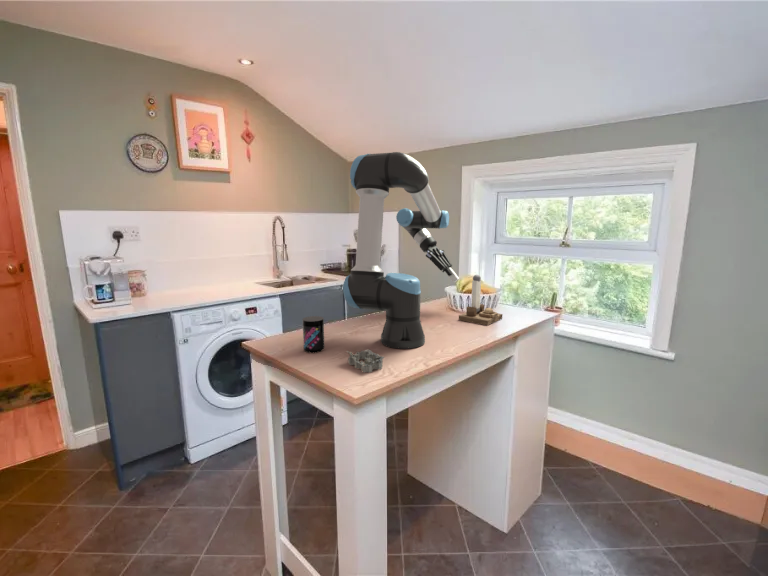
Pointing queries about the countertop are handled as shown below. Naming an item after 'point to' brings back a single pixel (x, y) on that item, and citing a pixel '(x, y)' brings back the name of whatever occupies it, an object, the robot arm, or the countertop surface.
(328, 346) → the countertop surface
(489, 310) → the walnut
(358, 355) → the egg carton
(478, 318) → the base
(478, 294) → the lever
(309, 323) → the supplement container
